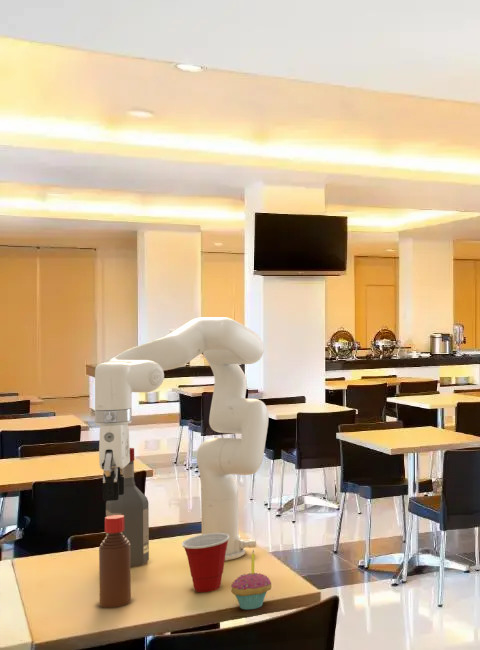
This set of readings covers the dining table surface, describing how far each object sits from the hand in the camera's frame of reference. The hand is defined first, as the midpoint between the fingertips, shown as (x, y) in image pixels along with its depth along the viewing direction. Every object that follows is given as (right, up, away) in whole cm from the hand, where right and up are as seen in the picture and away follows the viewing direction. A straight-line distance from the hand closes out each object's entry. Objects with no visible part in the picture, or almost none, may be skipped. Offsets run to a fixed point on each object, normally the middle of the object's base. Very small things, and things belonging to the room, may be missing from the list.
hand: (113, 496), depth 196 cm
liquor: (-11, -24, +31) cm, 41 cm away
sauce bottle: (0, -24, 0) cm, 24 cm away
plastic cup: (+18, -24, +10) cm, 31 cm away
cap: (0, -8, 0) cm, 8 cm away
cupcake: (+32, -24, -3) cm, 40 cm away
